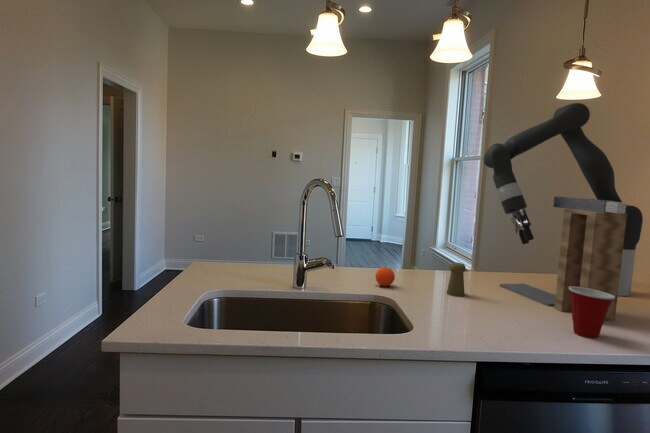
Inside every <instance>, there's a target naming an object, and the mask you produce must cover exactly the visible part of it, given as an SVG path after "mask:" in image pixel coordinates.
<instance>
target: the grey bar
mask: <svg viewBox="0 0 650 433" xmlns="http://www.w3.org/2000/svg"><path fill="white" fill-rule="evenodd" d="M626 205H627V202H623V201H622V202H615V201H609V200H597V198H595V199H594V198H585V197H584V198H583V197H581V198H580V197H572V196H554V198H553V205H552V206H553V208H559V209H577V210H585V211H594V212H603V213H625V210H626Z"/></svg>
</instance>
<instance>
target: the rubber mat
mask: <svg viewBox="0 0 650 433" xmlns="http://www.w3.org/2000/svg"><path fill="white" fill-rule="evenodd" d="M499 287H501V288H503V289H506V290H507V291H511V292H513V293H516V294H518V295H521V296H523V297H525V298H528V299H530V300H533V301H535V302H537V303H539V304H542V305H544V306H547V307H555V297H556V294H553V293H551V292H549V291H546V290H542V289H540V288H537V287H535V286H532V285H530V284H527V283H499Z"/></svg>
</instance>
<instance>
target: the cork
mask: <svg viewBox="0 0 650 433" xmlns="http://www.w3.org/2000/svg"><path fill="white" fill-rule="evenodd" d="M466 268H467V267H466V264H464V263H463V262H452V263H450V265H449V271H450V276H449V281H448V284H447V290H446V294H447V295H448V296H451V297H459V298H460V297H462V298H463V297H465V295H466V294H465V280H464V279H465V278H464V274H465V272H466Z"/></svg>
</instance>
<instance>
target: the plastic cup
mask: <svg viewBox="0 0 650 433" xmlns="http://www.w3.org/2000/svg"><path fill="white" fill-rule="evenodd" d="M569 290H570V296H571V306H572V311H571V317H572V318H571V320H572V326H573V332H574V334H575V335H577V336H580V337H584V338H589V339H595V338H599V336H600V333H601V331H602V330H601V329H602V328H603V327H602V326H604V322H605V321H606V320H605V317H606V314H607V311H608V308H609V306H610V304H611V302H612V300H613V299H615V296H613V295H611V294H608V293H605V292H602V291H598V290H594V289H589V288H583V287H574V286H571V287H569Z"/></svg>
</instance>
